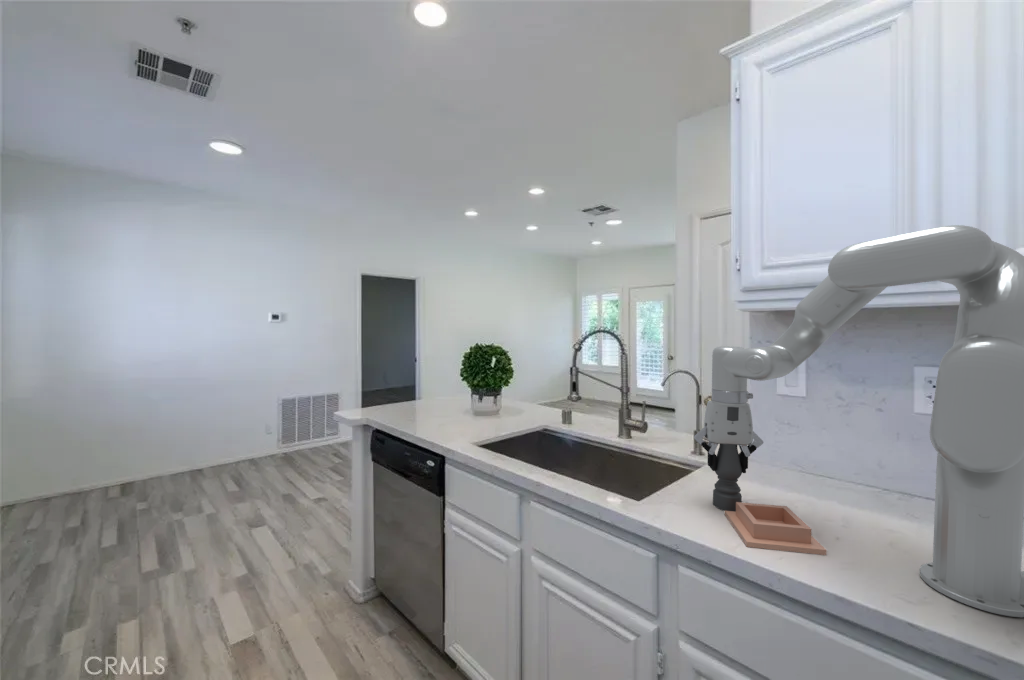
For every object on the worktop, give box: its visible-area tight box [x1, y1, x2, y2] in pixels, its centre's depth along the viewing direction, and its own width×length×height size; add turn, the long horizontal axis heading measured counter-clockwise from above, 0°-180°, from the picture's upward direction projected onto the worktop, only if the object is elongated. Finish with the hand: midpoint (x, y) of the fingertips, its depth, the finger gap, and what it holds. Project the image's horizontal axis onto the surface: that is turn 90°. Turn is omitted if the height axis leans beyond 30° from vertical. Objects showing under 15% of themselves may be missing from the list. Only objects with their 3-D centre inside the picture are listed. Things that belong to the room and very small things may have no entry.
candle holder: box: [712, 407, 743, 512], centre depth 98 cm, size 6×6×25 cm
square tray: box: [724, 502, 828, 556], centre depth 85 cm, size 14×14×4 cm
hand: (727, 469), depth 98 cm, fingers closed on candle holder, 5 cm apart
